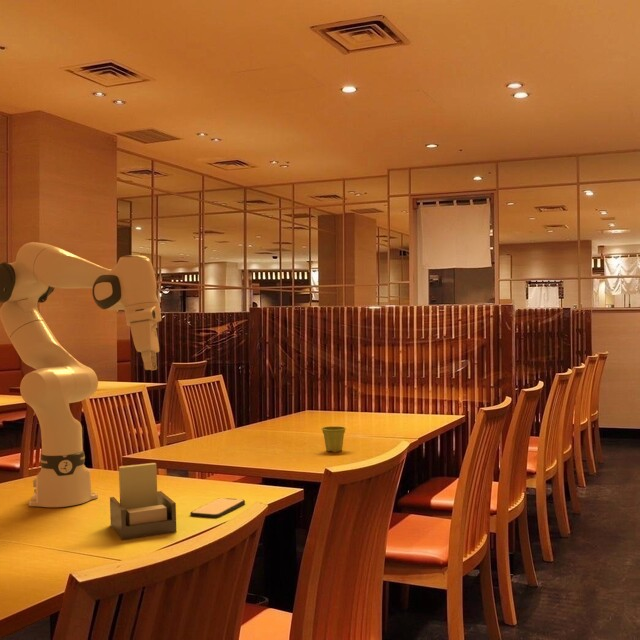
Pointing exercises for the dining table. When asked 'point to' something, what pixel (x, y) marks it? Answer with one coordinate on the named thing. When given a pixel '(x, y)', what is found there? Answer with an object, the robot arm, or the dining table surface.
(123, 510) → the rack
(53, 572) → the dining table surface
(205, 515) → the phone case
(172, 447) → the dining table surface
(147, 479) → the tall sheet
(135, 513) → the offcut upper
